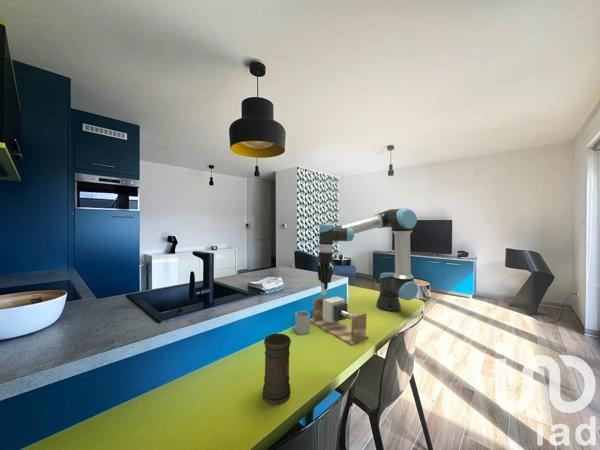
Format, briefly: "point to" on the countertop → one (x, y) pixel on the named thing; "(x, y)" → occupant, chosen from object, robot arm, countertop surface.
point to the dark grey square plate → (336, 311)
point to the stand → (340, 325)
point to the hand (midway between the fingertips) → (324, 294)
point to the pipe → (342, 312)
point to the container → (276, 369)
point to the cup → (302, 322)
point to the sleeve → (330, 307)
